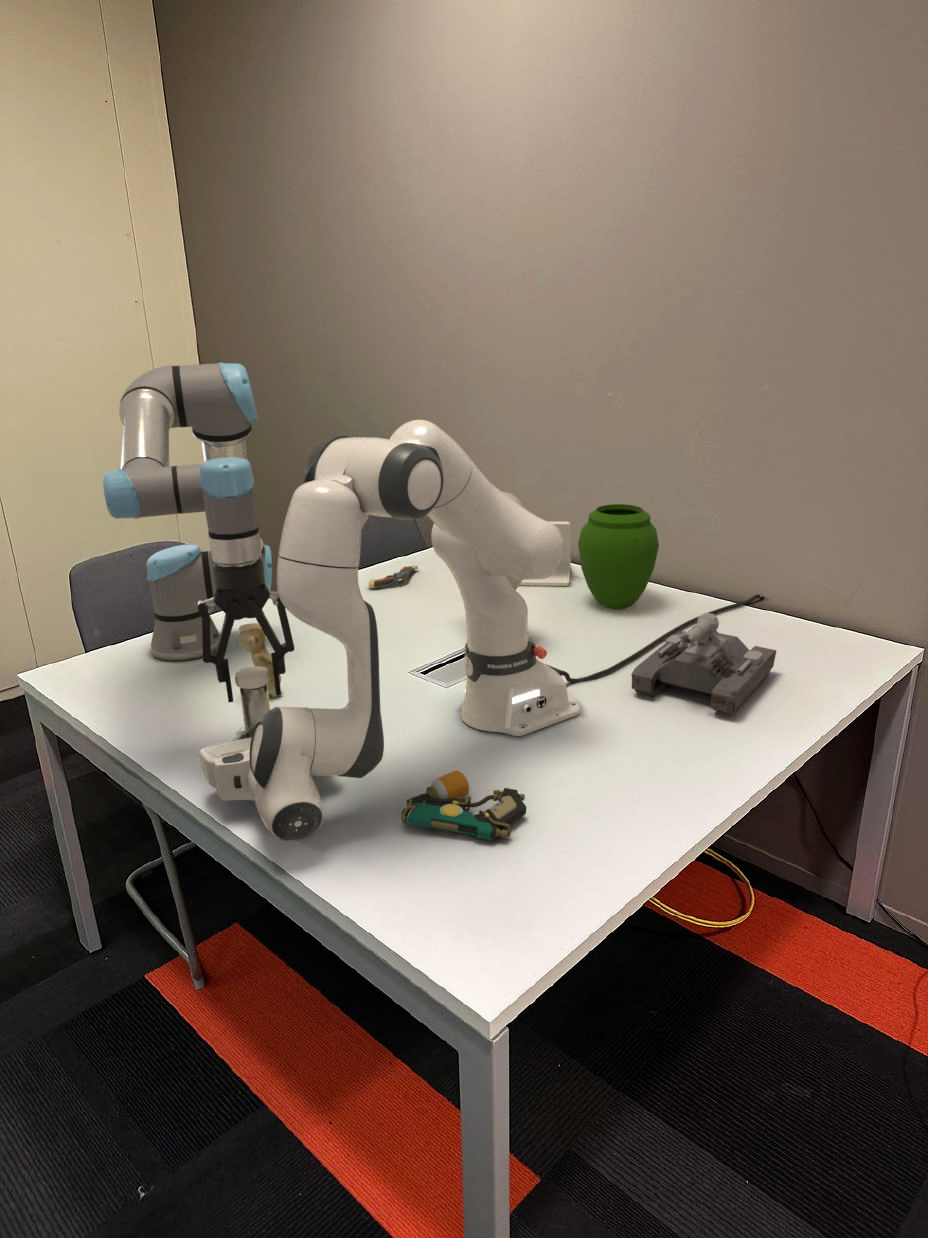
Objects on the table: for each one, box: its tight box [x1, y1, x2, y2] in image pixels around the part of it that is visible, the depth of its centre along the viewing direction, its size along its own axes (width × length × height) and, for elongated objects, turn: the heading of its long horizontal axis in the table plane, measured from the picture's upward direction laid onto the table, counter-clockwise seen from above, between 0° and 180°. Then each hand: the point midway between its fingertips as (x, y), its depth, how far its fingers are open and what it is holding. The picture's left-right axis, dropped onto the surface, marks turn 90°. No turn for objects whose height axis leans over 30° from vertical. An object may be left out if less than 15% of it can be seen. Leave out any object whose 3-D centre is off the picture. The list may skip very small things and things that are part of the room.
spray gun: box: [401, 769, 527, 841], centre depth 128 cm, size 4×17×15 cm
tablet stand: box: [519, 521, 572, 587], centre depth 236 cm, size 18×25×17 cm
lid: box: [234, 665, 270, 689], centre depth 138 cm, size 5×5×2 cm
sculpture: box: [238, 622, 282, 698], centre depth 168 cm, size 6×7×15 cm
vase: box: [577, 503, 660, 610], centre depth 210 cm, size 20×20×24 cm
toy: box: [630, 612, 777, 715], centre depth 167 cm, size 25×20×15 cm
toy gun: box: [368, 565, 419, 589], centre depth 238 cm, size 3×19×10 cm
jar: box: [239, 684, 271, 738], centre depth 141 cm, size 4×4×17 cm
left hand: (254, 695), depth 139 cm, fingers open, 7 cm apart
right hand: (258, 731), depth 143 cm, fingers closed on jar, 4 cm apart
